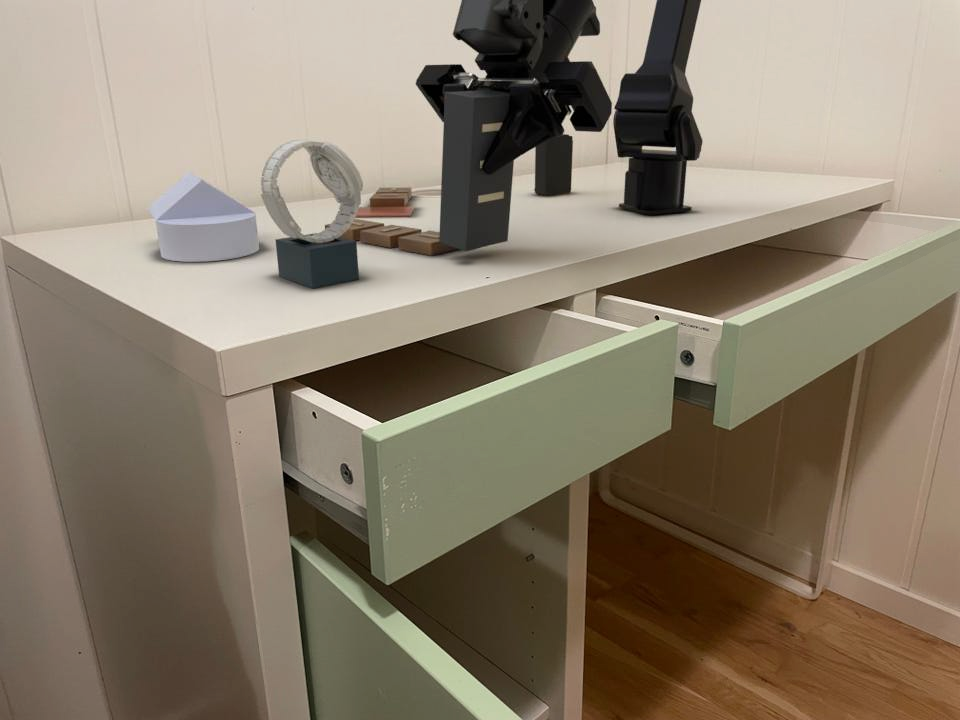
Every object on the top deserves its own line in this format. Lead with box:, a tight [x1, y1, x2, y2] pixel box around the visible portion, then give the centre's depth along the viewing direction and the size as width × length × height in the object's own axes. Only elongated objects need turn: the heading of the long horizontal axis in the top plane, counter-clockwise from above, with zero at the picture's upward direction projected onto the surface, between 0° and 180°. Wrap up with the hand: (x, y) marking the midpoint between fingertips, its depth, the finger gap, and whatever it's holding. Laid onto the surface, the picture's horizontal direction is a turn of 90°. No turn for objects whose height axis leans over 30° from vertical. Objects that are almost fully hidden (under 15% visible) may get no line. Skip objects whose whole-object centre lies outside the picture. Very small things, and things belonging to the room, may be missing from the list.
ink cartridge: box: [533, 133, 574, 197], centre depth 108 cm, size 5×2×8 cm, turn 127°
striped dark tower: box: [439, 90, 515, 252], centre depth 69 cm, size 4×6×13 cm, turn 136°
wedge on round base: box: [147, 171, 260, 263], centre depth 76 cm, size 9×7×13 cm
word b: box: [355, 186, 415, 218], centre depth 100 cm, size 17×7×1 cm, turn 0°
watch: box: [260, 139, 364, 289], centre depth 63 cm, size 6×8×11 cm
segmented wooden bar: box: [324, 218, 459, 257], centre depth 78 cm, size 15×4×1 cm, turn 50°
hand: (467, 169), depth 68 cm, fingers closed on striped dark tower, 4 cm apart
